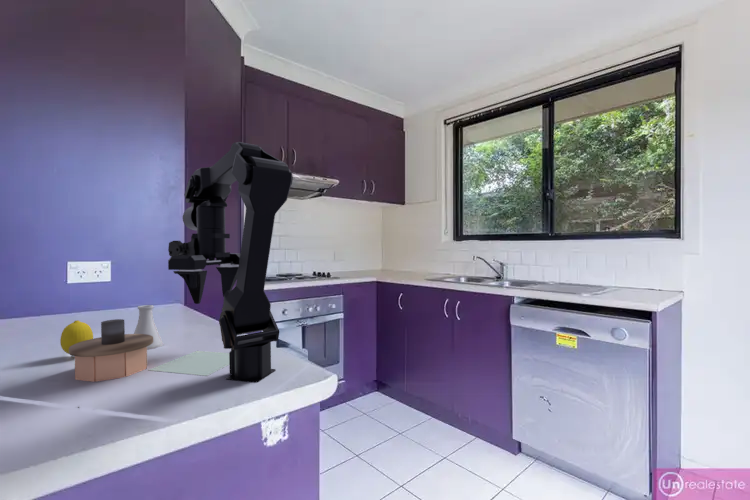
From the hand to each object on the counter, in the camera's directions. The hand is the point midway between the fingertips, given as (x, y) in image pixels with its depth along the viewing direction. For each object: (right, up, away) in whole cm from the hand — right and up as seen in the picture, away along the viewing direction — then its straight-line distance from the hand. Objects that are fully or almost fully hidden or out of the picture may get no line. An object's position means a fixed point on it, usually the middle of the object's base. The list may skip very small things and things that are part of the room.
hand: (212, 300), depth 81 cm
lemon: (-29, -12, -1) cm, 32 cm away
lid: (-14, -7, -11) cm, 19 cm away
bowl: (-14, -12, -11) cm, 21 cm away
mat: (+1, -12, -6) cm, 14 cm away
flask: (-18, -12, +6) cm, 23 cm away
